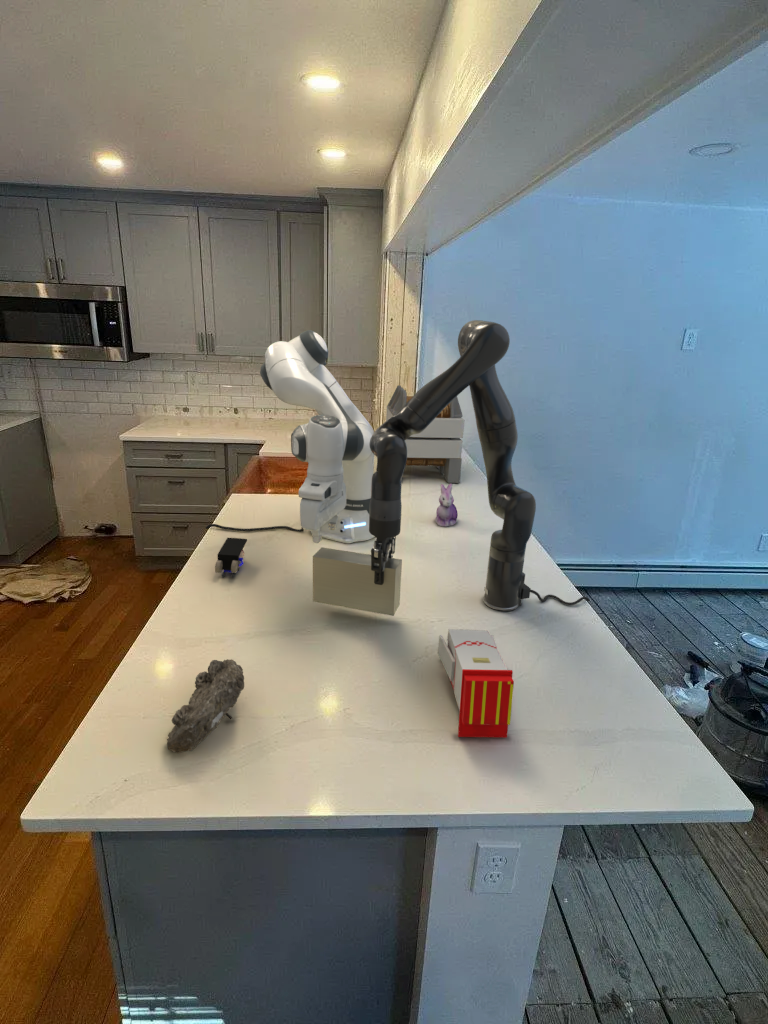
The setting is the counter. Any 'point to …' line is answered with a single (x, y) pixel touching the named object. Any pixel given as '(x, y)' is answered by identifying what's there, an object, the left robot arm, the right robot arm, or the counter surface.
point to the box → (355, 581)
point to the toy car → (230, 556)
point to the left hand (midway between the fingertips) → (325, 535)
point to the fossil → (206, 705)
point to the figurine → (446, 508)
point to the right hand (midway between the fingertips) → (382, 577)
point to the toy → (478, 682)
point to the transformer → (434, 438)
